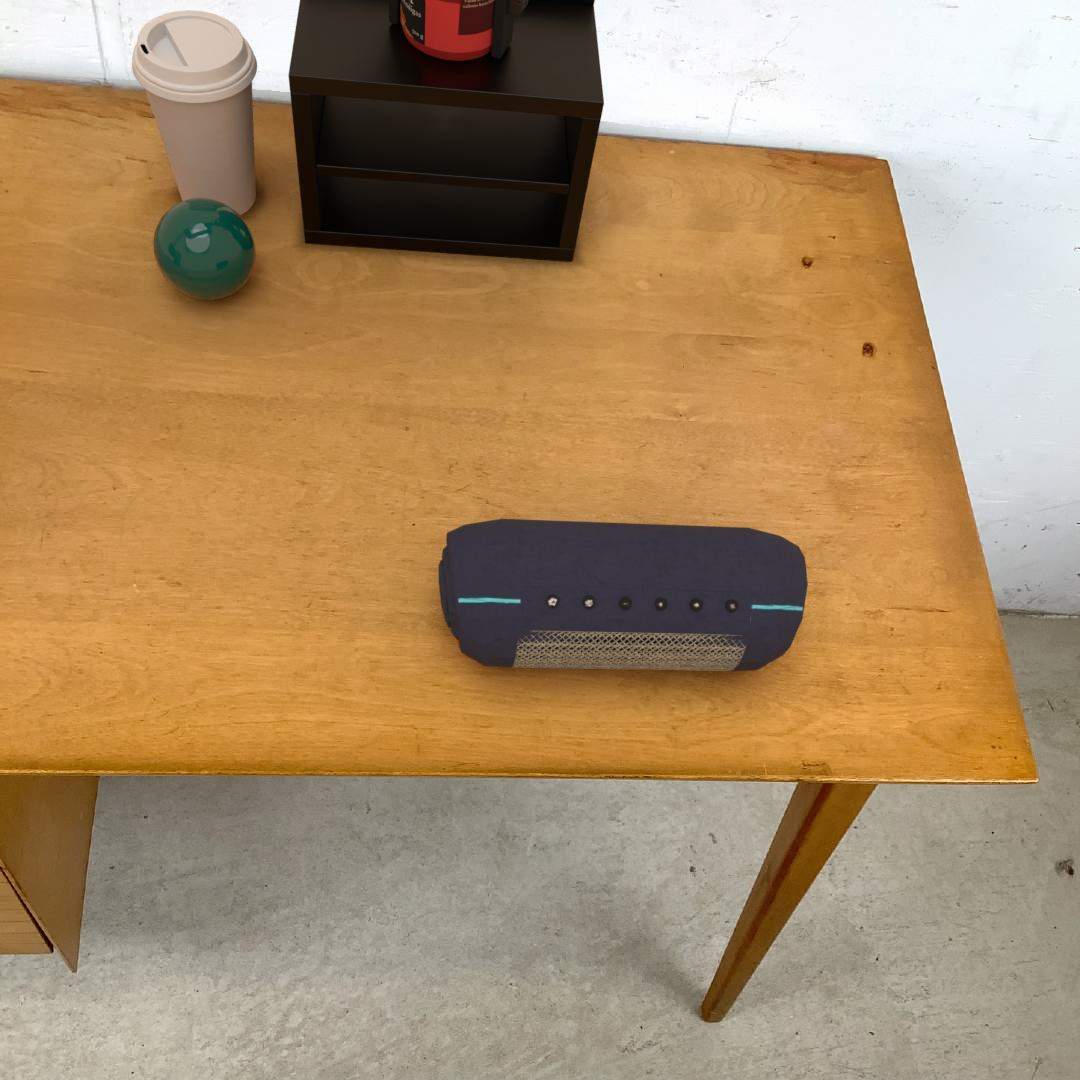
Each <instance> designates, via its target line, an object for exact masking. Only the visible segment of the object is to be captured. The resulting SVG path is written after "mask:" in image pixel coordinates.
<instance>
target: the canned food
mask: <svg viewBox="0 0 1080 1080" xmlns="http://www.w3.org/2000/svg"><path fill="white" fill-rule="evenodd" d="M495 2H496V0H401V23H402V27H403V30H404V34H405V36H406V38H407V39H408V41H409V42H410V43H411V44H412V45H413V46H415V47H416V48H417V49H419V50H420V51H422V52H424V53H426V54H428V55H430V56H433V57H436V58H440V59H444V60H452V61H464V60H472V59H476V58H479V57H481V56H484V55H486V54H487V53H489V52H490V51H491V48H492V37H493V25H494V14H495Z"/></svg>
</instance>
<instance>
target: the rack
mask: <svg viewBox="0 0 1080 1080" xmlns="http://www.w3.org/2000/svg"><path fill="white" fill-rule="evenodd" d="M595 1H596V0H528V4H527V5H526V7H525V9H524V10H523V12H522V13H521V14H520V16H519V17H516V16H514V26H513V35H512V42H511V43H510V45H509V46H508V48H507V49H506V50H505V52H504V53H503V55H502V56H501V58H500V59H498V58H495V57H492V56H491V51H490V52H489V53H487V54H486V55H484V56H481V57H479V58H476V59H472V60H464V61H452V60H444V59H440V58H436V57H433V56H430V55H428V54H426V53H424V52H422V51H420V50H419V49H417V48H416V47H415V46H413V45H412V44H411V43H410V42H409V41H408V39H407V38H406V36H405V34H404V30H403V27H402V23H401V21H400V22H399V24H398V25H397V24H394V23H391V22H389V0H299V2H298V3H299V4H298V11H297V18H296V23H295V30H294V36H293V43H292V48H291V49H292V50H291V57H290V62H289V69H288V84H289V92H290V93H289V95H290V105H291V115H292V125H293V134H294V135H293V136H294V144H295V155H296V165H297V173H298V174H297V175H298V185H299V197H300V207H301V215H302V216H301V217H302V227H303V237H304V243H305V244H309V245H323V246H338V247H350V248H351V247H352V248H367V249H381V250H382V249H383V250H396V251H408V252H409V251H410V252H424V253H425V252H426V253H438V254H439V253H440V254H454V255H455V254H456V255H469V256H483V257H496V258H497V257H499V258H511V259H527V260H540V261H543V260H544V261H556V262H557V261H558V262H571V263H572V262H573V261H574V256H575V251H576V247H577V241H578V236H579V230H580V226H581V221H582V215H583V212H584V205H585V201H586V196H587V191H588V186H589V180H590V176H591V170H592V166H593V161H594V155H595V150H596V145H597V141H598V135H599V131H600V125H601V120H602V116H603V112H604V111H603V110H604V105H605V100H604V99H605V98H604V88H603V82H602V79H603V78H602V70H601V61H600V51H599V42H598V32H597V22H596V13H595Z"/></svg>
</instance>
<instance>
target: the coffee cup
mask: <svg viewBox="0 0 1080 1080" xmlns="http://www.w3.org/2000/svg"><path fill="white" fill-rule="evenodd" d="M256 57H257V56H255V53H254V50H253V48H252V47H251V45H250V43H249V42H248V41H247V39H246V38H245V37H244V36H243V34H242V32H241V31H240V29H239V28H238V27H237V26H236V24H234V23H233V22H232V21H231V20H229V19H228V18H225V17H223V16H221V15H218V14H216V13H212V12H208V11H202V10H192V9H191V10H176V11H171V12H166V13H163V14H161V15H158V16H156V17H154V18H152V19H151V20H148V22H146V23H145V24H144V25H143V26H142V28H141V29H140V30H139V32H138V35H137V40H136V43H135V45H134V47H133V52H132V57H131V71H132V74H133V77H134V78H135V80H136V81H137V82H138V84H139V85H140V86H142V87H143V89H144V91H145V95H146V97H147V99H148V102H149V106H150V108H151V111H152V114H153V119H154V121H155V124H156V126H157V130H158V133H159V135H160V139H161V141H162V144H163V147H164V150H165V153H166V156H167V159H168V162H169V165H170V168H171V171H172V174H173V177H174V180H175V183H176V186H177V190H178V192H179V196H180V198H181V201H185V200H188V199H192V198H207V199H214V200H216V201H219V202H222V203H224V204H226V205H228V206H229V207H231V208H232V209H233V210H235V211H236V212H237V213H238V214H240V215H241V216H242V215H243V214H245V213H247V212H248V211H249V210H250V209H251V208H252V207H253V205H254V204H255V202H256V200H257V185H256V184H257V182H256V181H257V180H256V158H255V157H256V156H255V155H256V154H255V131H254V129H255V128H254V106H253V105H254V104H253V99H254V98H253V81H254V79H255V77H256V75H257V71H258V61H257V58H256Z"/></svg>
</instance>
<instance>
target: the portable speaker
mask: <svg viewBox="0 0 1080 1080" xmlns="http://www.w3.org/2000/svg"><path fill="white" fill-rule="evenodd" d="M445 543H446V545H445V547H444V548H443V550H442V553H441V560H440V561H439V563H438V588H439V598H440V605H441V609H442V610H441V611H442V614H443V617H444V621H445V622H444V623H446V625H447V627H448V629H450V632H451V634H452V636H453V637H454V638H455V639H456V640H457V641H458V647H459V650H460V653H461V654H463V655H465V656H466V657H468V658H470V659H472V660H473V661H475V662H477V663H479V664H480V665H482V666H483V667H495V668H519V669H520V668H530V669H531V668H532V669H536V668H537V669H586V670H587V669H588V670H589V669H590V670H592V669H593V670H604V669H605V670H641V671H642V670H644V671H645V670H648V671H650V670H651V671H652V670H653V671H658V670H659V671H703V672H705V671H707V672H708V671H709V672H710V671H714V672H719V671H720V672H752V671H753V672H754V671H758V670H760V669H762V668H764V667H765V666H767V665H769V664H771V663H772V662H774V661H776V660H778V659H779V658H781V657H783V656H784V655H785V653H786V652H787V651H788V650H789V649H790V648H791V647H792V644H793V642H794V640H795V638H796V635H797V633H798V630H799V628H800V626H801V624H802V622H803V618H804V611H805V605H806V598H807V593H808V586H809V583H808V574H807V572H808V571H807V565H806V558H805V554H803V551H802V550H801V548H800V546H799V545H798V544H796V543H794V542H792V541H790V540H788V539H787V538H785V537H783V536H781V535H779V534H774V533H772V532H767V531H763V530H759V529H755V528H752V527H743V526H742V527H739V526H715V525H713V526H712V525H688V524H687V525H685V524H681V525H680V524H658V523H657V524H656V523H633V522H632V523H631V522H630V523H629V522H603V521H601V522H600V521H577V520H576V521H574V520H573V521H572V520H551V519H550V520H548V519H547V520H546V519H545V520H544V519H523V518H521V519H519V518H518V519H517V518H499V519H498V518H497V519H491V520H486V521H478V522H473V523H467V524H463V525H461V526H459V527H457V528H454V529H452V530H450V531H447V532H446V539H445Z"/></svg>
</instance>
